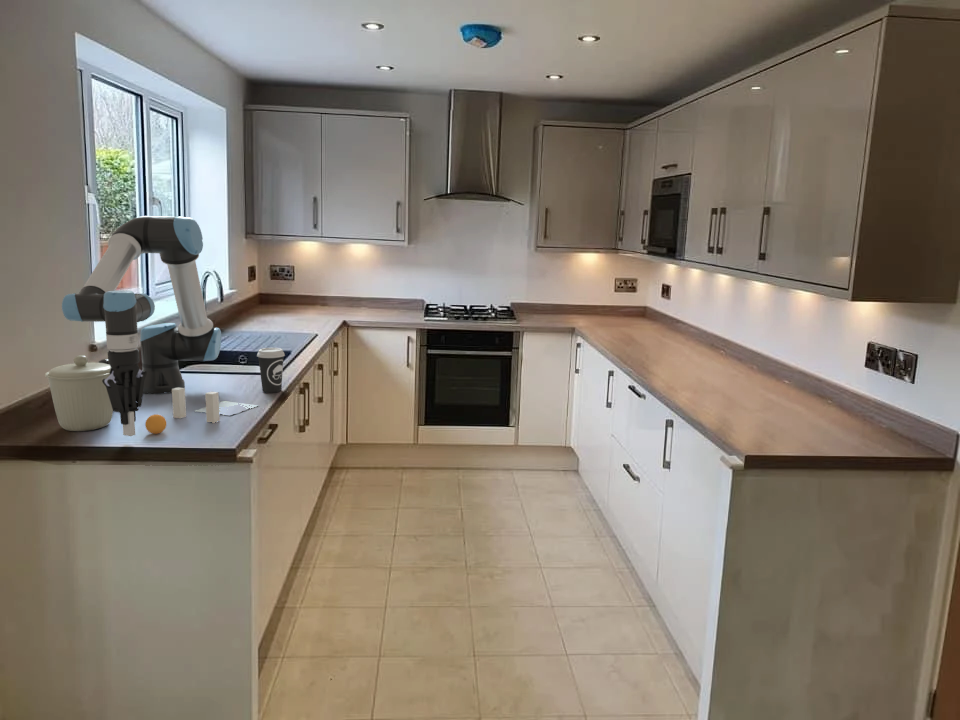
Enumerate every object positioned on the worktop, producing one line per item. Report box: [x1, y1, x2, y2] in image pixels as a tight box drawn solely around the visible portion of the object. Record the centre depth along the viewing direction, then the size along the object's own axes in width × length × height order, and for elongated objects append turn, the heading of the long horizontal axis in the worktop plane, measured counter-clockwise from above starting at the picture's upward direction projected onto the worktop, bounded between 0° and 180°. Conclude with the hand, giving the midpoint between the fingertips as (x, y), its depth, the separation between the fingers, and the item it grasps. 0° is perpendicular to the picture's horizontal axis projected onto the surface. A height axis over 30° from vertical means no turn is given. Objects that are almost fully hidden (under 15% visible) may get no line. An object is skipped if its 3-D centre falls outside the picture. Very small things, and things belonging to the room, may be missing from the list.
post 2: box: [204, 391, 221, 424], centre depth 215 cm, size 3×3×9 cm
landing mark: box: [194, 400, 260, 416], centre depth 231 cm, size 14×14×1 cm
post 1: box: [171, 387, 187, 419], centre depth 219 cm, size 3×3×9 cm
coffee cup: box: [256, 347, 286, 394], centre depth 254 cm, size 10×10×15 cm
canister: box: [44, 354, 114, 432], centre depth 206 cm, size 18×18×21 cm
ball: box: [144, 413, 167, 435], centre depth 203 cm, size 6×6×6 cm
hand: (129, 434), depth 194 cm, fingers closed
